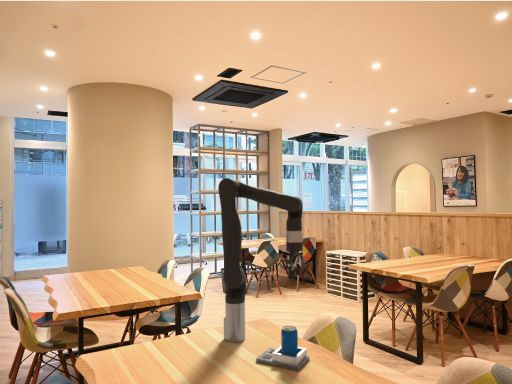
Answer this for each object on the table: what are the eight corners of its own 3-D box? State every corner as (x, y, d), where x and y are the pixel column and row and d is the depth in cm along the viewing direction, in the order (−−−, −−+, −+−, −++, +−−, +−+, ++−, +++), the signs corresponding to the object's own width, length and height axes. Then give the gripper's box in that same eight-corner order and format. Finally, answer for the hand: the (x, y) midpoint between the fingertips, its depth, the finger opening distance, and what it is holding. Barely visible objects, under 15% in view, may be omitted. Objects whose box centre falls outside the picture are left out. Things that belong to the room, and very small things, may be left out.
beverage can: (278, 356, 151) (278, 326, 151) (293, 354, 153) (292, 324, 153) (285, 362, 145) (285, 331, 145) (300, 360, 147) (300, 329, 147)
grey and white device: (256, 362, 149) (256, 350, 149) (269, 351, 160) (269, 340, 160) (298, 371, 141) (297, 359, 141) (309, 359, 151) (309, 348, 151)
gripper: (292, 238, 176) (293, 273, 176) (280, 241, 164) (280, 279, 163) (307, 239, 173) (308, 274, 172) (295, 242, 160) (296, 280, 160)
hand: (294, 276), depth 168 cm, fingers open, 8 cm apart
